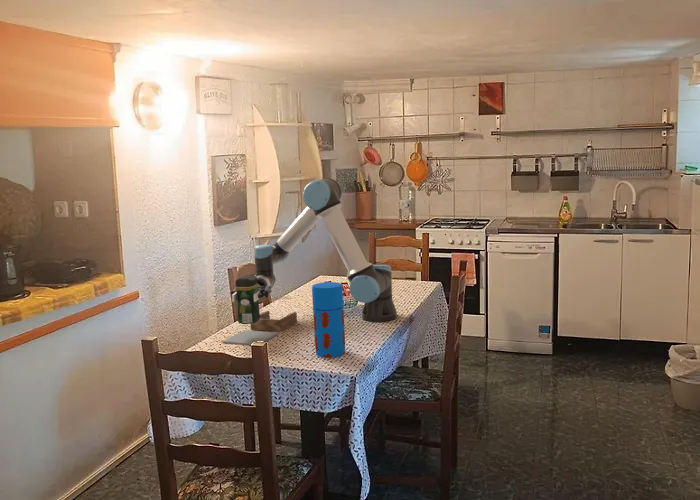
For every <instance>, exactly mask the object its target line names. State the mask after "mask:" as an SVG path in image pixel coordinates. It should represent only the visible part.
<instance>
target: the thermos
mask: <svg viewBox="0 0 700 500" xmlns="http://www.w3.org/2000/svg"><path fill="white" fill-rule="evenodd" d="M342 285H343V284H342V283H340V282H334V281H329V282H328V281H327V282H319V283H314V284H312V285H311V294H312V295H311V297H312V316H313V333H314V336H313V337H314V347H315V355H316V356H317V357H319V358H331V359H332V358H338V357H341V356H343V355H345V354H346V331H345V330H346V329H345V314H344V313H345V311H344V310H345V308H344V289H343V286H342Z"/></svg>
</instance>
